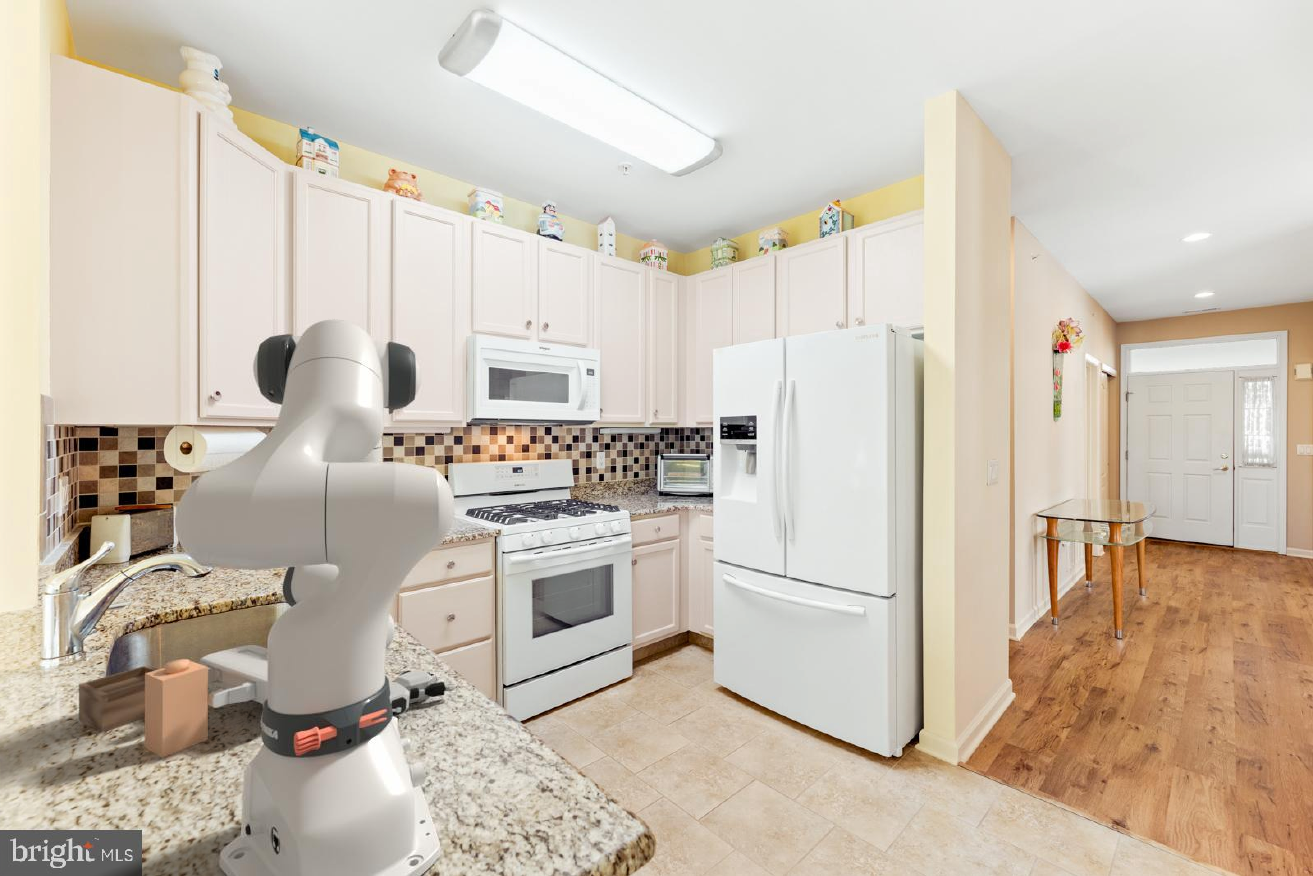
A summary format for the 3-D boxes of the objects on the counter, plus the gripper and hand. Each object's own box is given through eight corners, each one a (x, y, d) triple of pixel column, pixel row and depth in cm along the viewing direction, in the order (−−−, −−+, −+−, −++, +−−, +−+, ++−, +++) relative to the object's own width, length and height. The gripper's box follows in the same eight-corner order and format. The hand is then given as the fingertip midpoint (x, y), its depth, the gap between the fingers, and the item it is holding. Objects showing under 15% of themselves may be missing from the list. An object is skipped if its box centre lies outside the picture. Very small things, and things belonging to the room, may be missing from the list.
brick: (207, 739, 77) (207, 659, 77) (162, 757, 73) (162, 673, 73) (189, 730, 80) (189, 653, 80) (144, 747, 75) (145, 666, 75)
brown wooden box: (171, 708, 86) (171, 674, 86) (102, 732, 79) (102, 695, 79) (147, 697, 90) (147, 665, 90) (78, 719, 83) (78, 684, 83)
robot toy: (411, 687, 96) (321, 718, 83) (413, 660, 96) (323, 687, 83) (459, 705, 89) (370, 741, 76) (461, 676, 89) (372, 707, 77)
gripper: (260, 630, 95) (158, 658, 83) (334, 650, 85) (231, 686, 73) (259, 667, 95) (157, 700, 83) (334, 692, 85) (231, 734, 73)
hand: (193, 694), depth 78 cm, fingers open, 8 cm apart
